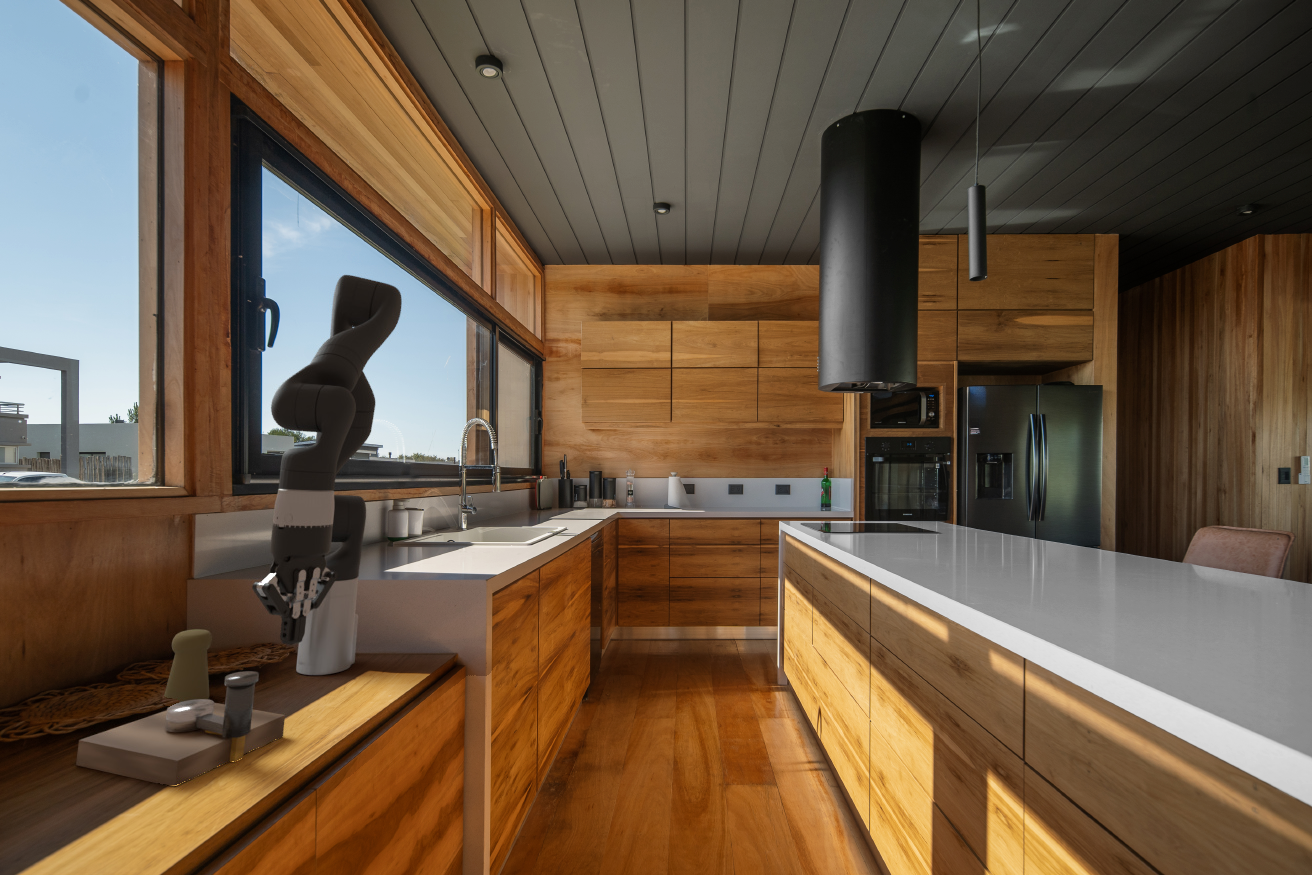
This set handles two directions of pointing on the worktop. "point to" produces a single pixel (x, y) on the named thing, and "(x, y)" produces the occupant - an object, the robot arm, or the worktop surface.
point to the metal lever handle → (201, 710)
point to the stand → (172, 747)
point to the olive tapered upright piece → (189, 666)
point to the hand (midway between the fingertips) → (291, 642)
